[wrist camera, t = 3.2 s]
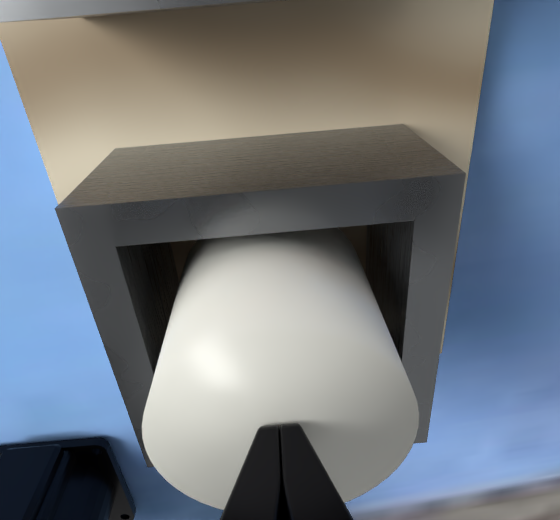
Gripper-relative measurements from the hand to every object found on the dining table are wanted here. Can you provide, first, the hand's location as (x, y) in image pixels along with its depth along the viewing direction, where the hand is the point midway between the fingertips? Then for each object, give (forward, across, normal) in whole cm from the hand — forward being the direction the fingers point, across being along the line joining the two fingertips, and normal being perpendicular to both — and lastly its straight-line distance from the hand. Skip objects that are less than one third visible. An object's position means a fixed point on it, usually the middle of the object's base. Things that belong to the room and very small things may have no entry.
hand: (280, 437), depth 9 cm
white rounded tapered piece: (+6, 0, 0) cm, 6 cm away
